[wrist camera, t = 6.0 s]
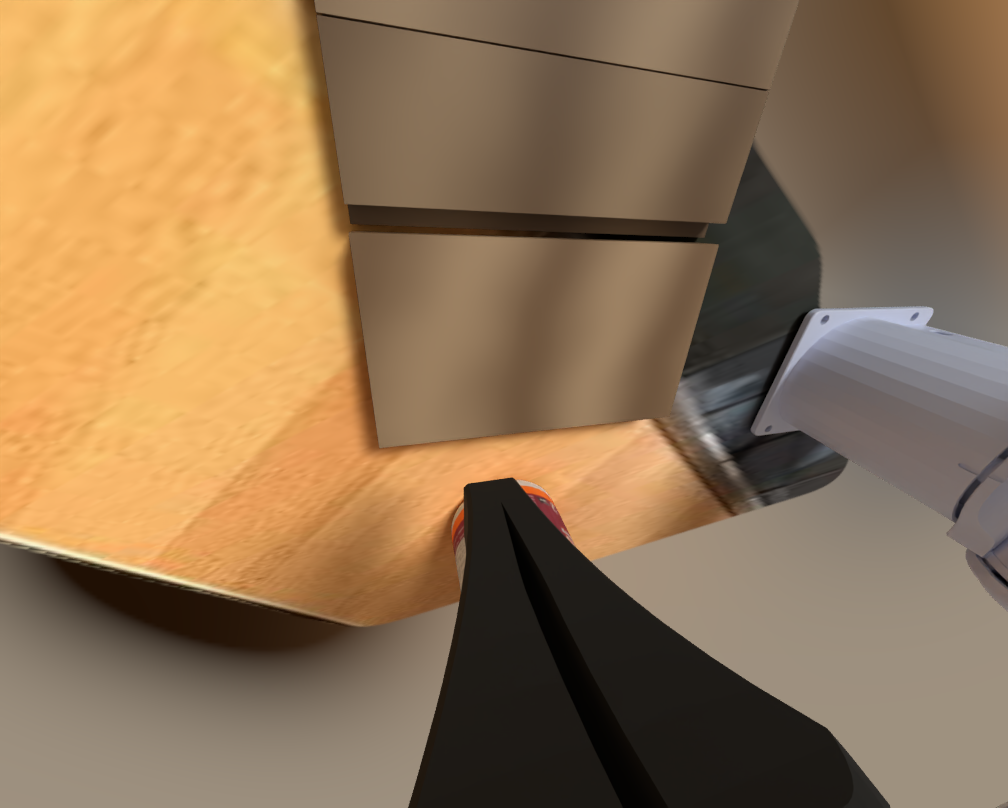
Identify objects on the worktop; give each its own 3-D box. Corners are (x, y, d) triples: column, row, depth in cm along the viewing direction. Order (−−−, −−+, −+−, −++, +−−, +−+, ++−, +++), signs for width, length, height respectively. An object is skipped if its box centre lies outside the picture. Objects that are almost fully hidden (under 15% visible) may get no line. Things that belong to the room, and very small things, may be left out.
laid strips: (791, -70, 11) (830, -96, 10) (699, 236, 15) (720, 240, 14) (286, -231, 8) (270, -294, 7) (351, 223, 12) (347, 226, 11)
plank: (697, 242, 16) (718, 244, 15) (654, 405, 19) (669, 416, 18) (352, 230, 12) (348, 232, 11) (380, 432, 16) (379, 448, 15)
